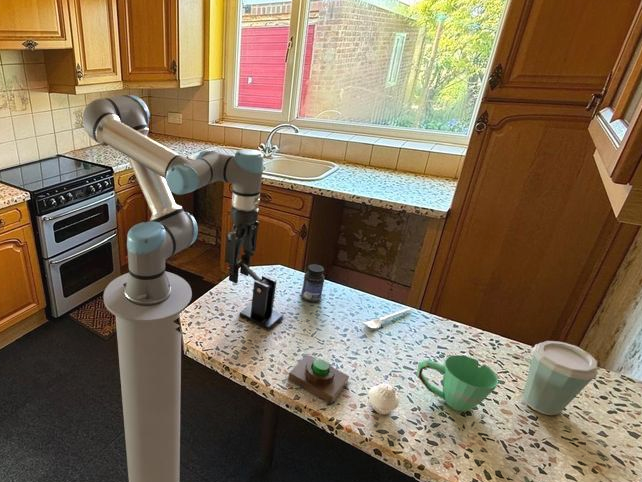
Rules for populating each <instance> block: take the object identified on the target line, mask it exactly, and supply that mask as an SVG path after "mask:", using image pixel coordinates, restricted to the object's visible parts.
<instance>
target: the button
mask: <svg viewBox="0 0 642 482" xmlns="http://www.w3.org/2000/svg"><path fill="white" fill-rule="evenodd" d="M316 359H317V360H315V361H314V362H313V367H312V369H313V371H314V372H315V373H317V374H318V375H326V374H327V373H328V370H329V364H328V363H329V362H328V361H326V360H324V359H321V358H316ZM327 362H328V363H327Z"/></svg>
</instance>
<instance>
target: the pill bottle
mask: <svg viewBox="0 0 642 482" xmlns="http://www.w3.org/2000/svg"><path fill="white" fill-rule="evenodd" d="M324 270H325V268H324V267H323V266H322V265H319V264H313V263H312V264H309V265H308V267H307V271H306V272H305V273H304V277H303V281H302V287H301V293H300V294H301V295H300V296H301V297H302V299H303V300H305V301H307V302H310V303H318V302H319V301H321V299H322V294H323V289H324V284H325V279H326V278H325V275H324Z"/></svg>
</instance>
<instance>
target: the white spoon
mask: <svg viewBox="0 0 642 482" xmlns="http://www.w3.org/2000/svg"><path fill="white" fill-rule="evenodd" d="M408 312H411V308H405V309H402V310H400V311H396V312H394V313H391V314H389V315H385V316H383V317H380V318H375V319H374V318H373V319H371V320H368V321H361V323H363V324H364V325H365V326H367V327H368V328H370V329H379V328H381V326H382V323H383V322H385V321H388V320H390V319H393V318H395V317H398V316H400V315H402V314H405V313H408Z"/></svg>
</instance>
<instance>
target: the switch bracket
mask: <svg viewBox="0 0 642 482" xmlns="http://www.w3.org/2000/svg"><path fill="white" fill-rule="evenodd" d="M260 279H261V280H262V281H263V280H264V279H266V280H267V281H268V282H269V283H270V284H271V285H272V287H271V288H270V289H269V286H268V285H266V284H263V283H261V282H259V281H257V280H256V281H255V280H254V281H253V289H252V297H251V303H250V304H249V305H248V306H247V307H245V308H244V309H242V310H241V311H240V312H239V316H240V317H241V318H244V319H245V320H247V321H249V322H251V323H252V324H255V325H257V326H258V327H260V328H262V329H264V330H266V331H270V330H271V328H273V327H274V326H275V325H277V324H278V322H280V321H281V320H282V319H283V318H284V317H283V316H284V315H283V314H282V313H281V312H278V311H276V310H274V302H275V295H276V287H277V280H276V279H275V278H272V277H270V276H267V275H265V274H263V275H262V276H261V278H260Z"/></svg>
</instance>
